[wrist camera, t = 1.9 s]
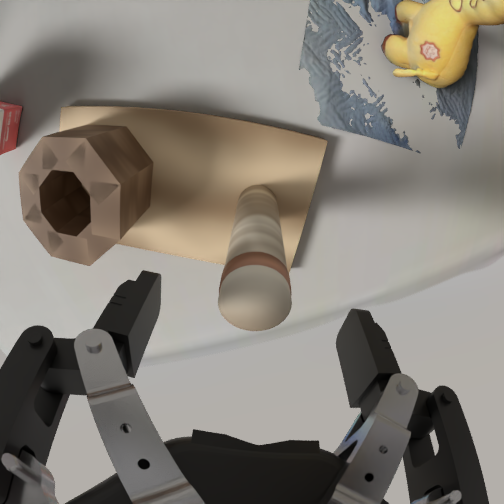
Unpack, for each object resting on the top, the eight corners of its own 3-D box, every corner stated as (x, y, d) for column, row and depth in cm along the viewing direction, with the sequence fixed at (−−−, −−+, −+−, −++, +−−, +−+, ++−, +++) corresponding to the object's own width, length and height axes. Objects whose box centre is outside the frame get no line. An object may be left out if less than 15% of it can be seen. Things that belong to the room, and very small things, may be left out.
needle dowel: (241, 180, 21) (222, 266, 11) (281, 189, 22) (302, 281, 11) (234, 217, 23) (212, 325, 12) (272, 225, 23) (281, 336, 13)
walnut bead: (64, 124, 19) (17, 137, 14) (157, 129, 19) (123, 141, 14) (65, 219, 23) (28, 249, 18) (148, 234, 24) (121, 273, 19)
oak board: (68, 106, 19) (61, 107, 18) (324, 139, 21) (327, 141, 20) (68, 227, 25) (62, 232, 24) (286, 269, 26) (287, 276, 25)
